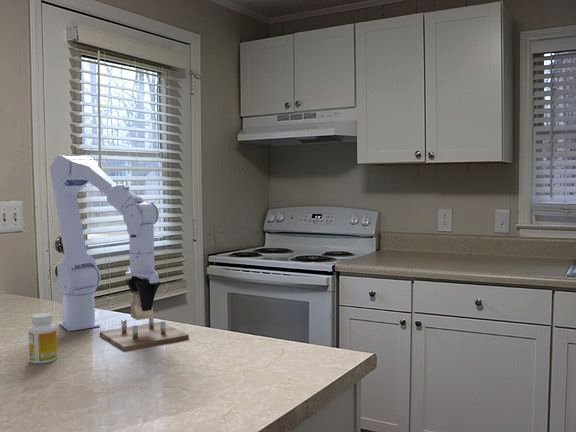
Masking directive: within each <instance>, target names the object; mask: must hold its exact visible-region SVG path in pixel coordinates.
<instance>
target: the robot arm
mask: <svg viewBox="0 0 576 432" xmlns="http://www.w3.org/2000/svg"><path fill="white" fill-rule="evenodd" d="M49 171H50V177H51V182H52V183H51V184H52V188H53V196H54V200H55V206H56V213H57V219H58V224H59V230H60V231H59V232H60V235H61V242H62V248H63V253H64V257H63V258H62V260H61V261H59V263H58V264H57V266H56V269H57V277H56V284H57V287H58V289H59V290H60V291H61V292H62V293H61V294H63V297H62V299H61V300H62V303H61V304H62V306H61V307H62V321H59V322H58V323H59V324H58V325H60V326H61V327H63V328H64V329H66V330H67V331H69V332H73V331H79V330H85V329H92V328H97V327H101V324H100V323H99V322H97V321H96V315H95V311H96V310H95V308H96V307H95V306H96V305H95V291H97V287H98V286H99V285H100V283H101V278H102V277H101V276H102V275H101V271H100V269H99V268H98V266H97V262H96V261H97V260H96V259H95V258H94V257H92V255H90V254H89V253H87V246H86V242H85V236H84V230H83V223H82V218H81V213H80V207H79V201H78V196H77V195H78V193H80V190H82V189H83V188H85V186H86V185H88V184H91V185H93V186H94V187H95V188H97V189H98V190H99V191H101V192H102V193H103V194H104V195H106V201H107V203H108V204H109V205H111V206H112V207H113V208H114V209H115V210H116V211H117V212H119V214H121V215H122V219H123V221H124V224H125V226H126V231H127V233H128V237H129V241H128V243H129V244H128V245H129V267H127V268H126V271H125V272H124V274H125V275H124V276H128V277H129V276H130V277H131V278H126V279H125V283H126V284H127V286H128V288H129V291H130V292H139V295H140V301H141V307H142V311H149V310H152V306H153V307H154V301H155V296H156V294H157V291H158V289H159V287H160V285H161V281H160V277H159V276H160V274H158V273H157V271H156V269H155V234H154V233H155V232H154V230H155V229H154V227H155V225H156V223H157V222H158V220H159V216H160V214H159V209H158V207H157V205H156V204H155V203H154V202H153V201H145V200H143V197H141V196H139V195H137V194H136V193H135V192H134V191H132V190H131V188H130V186H129V185H128V184H123V183H119V184H117V183H115V181H113V180H112V178H111V177H109V176H108V174H106V173H105V172H104V170H102V169H101V167H99V162H98V161H96V160H94V158H93V157H91V156H86V155H85V156H73V155H72V156H71V155H70V156H66V155H62V154H61V155H57V156H56V157H55V158H54V159H53V161H52V162H51V164H50V166H49ZM75 266H77V267H75Z"/></svg>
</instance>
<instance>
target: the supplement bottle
mask: <svg viewBox="0 0 576 432" xmlns="http://www.w3.org/2000/svg"><path fill="white" fill-rule="evenodd" d="M52 322H53V314H52V313H51V312H44V313H43V312H42V313H35V314H33V315H31V323H32V325H31V326H30V327H29V328H28V352H29V353H28V355H29V358H28V359H29V362H30V363H32V364H34V365H35V364H37V365H38V364H40V365H41V364H48V363H51V362H54V361H55V360H57V359H58V348H57V347H58V346H57V345H58V344H57V327H56V324H54V323H52Z"/></svg>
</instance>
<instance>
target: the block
mask: <svg viewBox="0 0 576 432" xmlns="http://www.w3.org/2000/svg"><path fill="white" fill-rule="evenodd" d="M153 316H154V305H153V306H152V310H149V311H142V307H141V301H140V295H139V292H131V291H130V318H132V319H134V320H137V321H140V320H145V319H148V320H149V318H153Z"/></svg>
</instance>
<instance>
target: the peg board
mask: <svg viewBox="0 0 576 432" xmlns="http://www.w3.org/2000/svg"><path fill="white" fill-rule="evenodd" d="M154 318H155V316H154V315H153V318H148V323H145V324H138V325H132V326H127V325H128V324H127V322H128V321H127V319H121V327H120V328H119V327H118V328H114V329H109V330H101V331H99V336H100V337H101V338H103V339H105V340H106V341H108V342H109V343H111V344H112V345H113V346H115V347H117V348H119V349H120V350H121V351H123V352H124V351H125V352H126V350H127V351H132V350H137V349H142V348H143V349H144V348H146V347H147V348H148V347H153V346H158V345H163V344H164V345H165V344H169V343H175V342H180V341H185V340H189V339H190V336H189V335H190V334H187V333H185V332H184V331H182V330H179V329H177V328H175V327H173V326H171V325H169V324H166V323H167V322H166V321H165V320H162V321H157V322H155V319H154Z"/></svg>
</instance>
